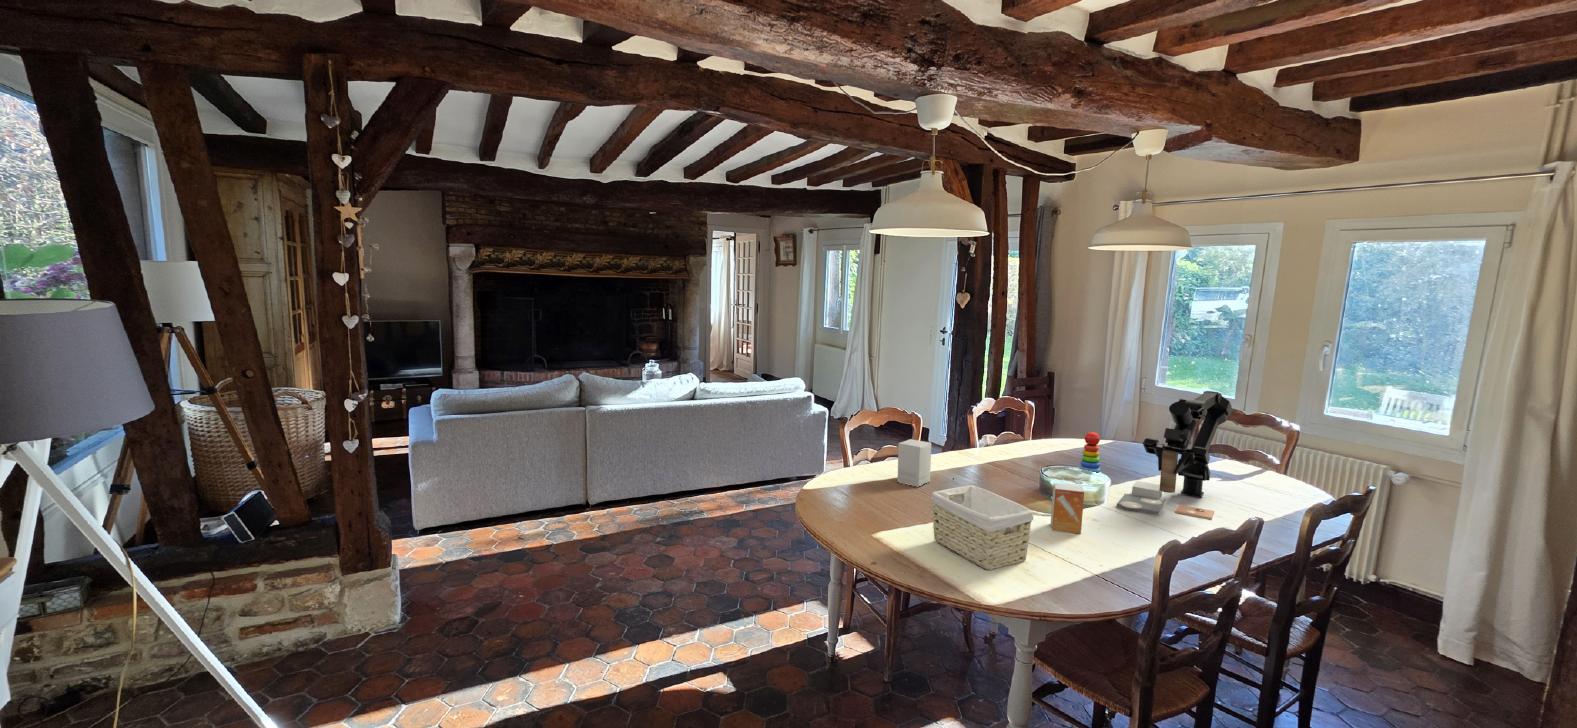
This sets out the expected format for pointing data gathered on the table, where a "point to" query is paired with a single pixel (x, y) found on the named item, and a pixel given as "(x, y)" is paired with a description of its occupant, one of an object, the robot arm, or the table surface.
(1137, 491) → the cover
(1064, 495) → the small box
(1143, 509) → the slate board
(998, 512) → the storage basket
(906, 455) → the supplement box
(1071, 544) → the table surface
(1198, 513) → the tile
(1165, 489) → the walnut pin
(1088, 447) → the stacking toy
